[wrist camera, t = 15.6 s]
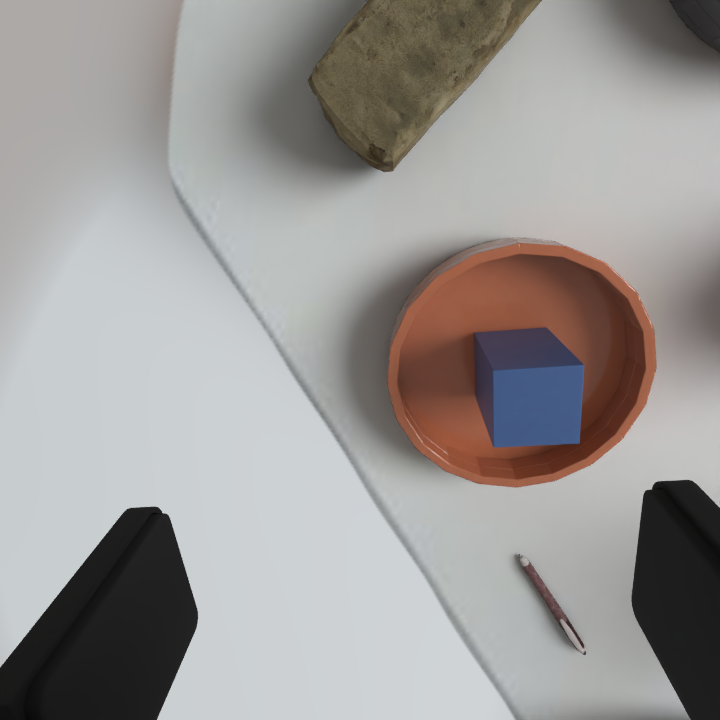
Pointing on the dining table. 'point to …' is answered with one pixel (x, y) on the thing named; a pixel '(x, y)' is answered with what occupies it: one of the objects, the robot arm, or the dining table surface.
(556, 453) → the terracotta bowl
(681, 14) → the charcoal bowl
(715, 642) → the robot arm
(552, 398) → the blue block
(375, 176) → the dining table surface
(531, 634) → the dining table surface
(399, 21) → the stone block
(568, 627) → the pen
